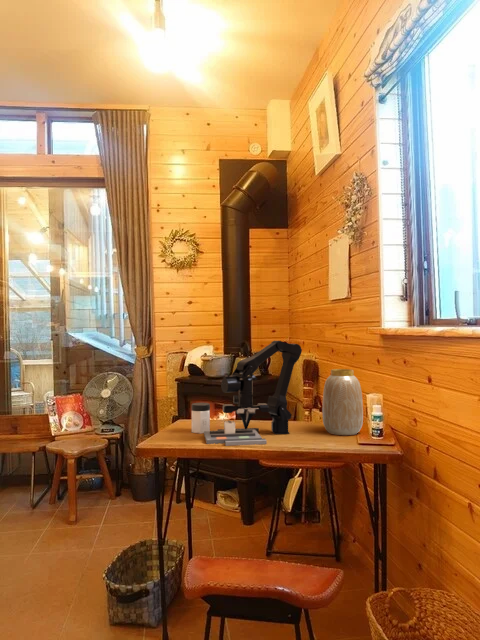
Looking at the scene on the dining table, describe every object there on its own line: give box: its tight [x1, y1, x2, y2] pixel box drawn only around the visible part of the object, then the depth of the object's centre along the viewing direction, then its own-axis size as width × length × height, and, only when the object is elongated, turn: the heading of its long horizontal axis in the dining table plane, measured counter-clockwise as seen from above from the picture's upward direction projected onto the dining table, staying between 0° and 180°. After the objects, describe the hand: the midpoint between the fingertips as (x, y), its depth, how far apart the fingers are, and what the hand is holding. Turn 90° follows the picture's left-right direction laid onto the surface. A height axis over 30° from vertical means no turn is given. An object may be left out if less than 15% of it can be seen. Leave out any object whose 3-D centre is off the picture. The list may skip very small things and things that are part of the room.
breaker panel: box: [203, 429, 263, 445], centre depth 185 cm, size 22×16×2 cm
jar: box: [191, 402, 211, 434], centre depth 198 cm, size 9×8×12 cm
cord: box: [216, 427, 260, 433], centre depth 196 cm, size 18×1×1 cm, turn 98°
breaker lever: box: [223, 420, 236, 434], centre depth 185 cm, size 4×4×5 cm
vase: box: [322, 368, 364, 436], centre depth 196 cm, size 17×17×27 cm
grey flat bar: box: [224, 438, 268, 447], centre depth 175 cm, size 16×3×1 cm, turn 98°
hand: (245, 429), depth 186 cm, fingers closed
